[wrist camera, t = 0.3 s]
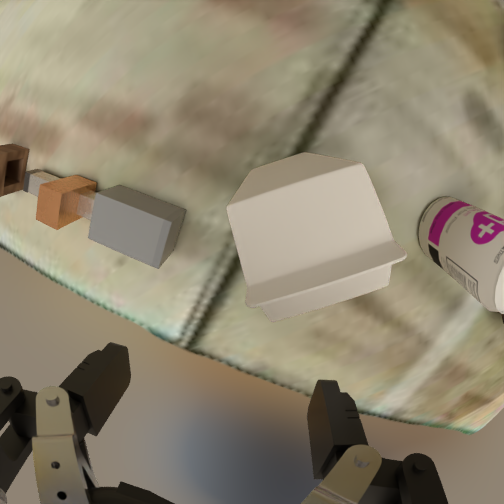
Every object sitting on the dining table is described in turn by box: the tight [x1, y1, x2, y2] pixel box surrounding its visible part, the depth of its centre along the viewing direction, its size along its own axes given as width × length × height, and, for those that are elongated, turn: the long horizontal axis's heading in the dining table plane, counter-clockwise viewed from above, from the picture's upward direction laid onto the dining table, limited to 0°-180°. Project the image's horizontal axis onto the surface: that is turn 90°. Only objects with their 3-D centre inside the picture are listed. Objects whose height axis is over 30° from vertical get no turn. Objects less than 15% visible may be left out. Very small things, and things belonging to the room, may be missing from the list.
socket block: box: [0, 144, 29, 197], centre depth 27 cm, size 6×4×6 cm
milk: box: [226, 152, 407, 322], centre depth 19 cm, size 6×6×22 cm
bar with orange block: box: [23, 169, 97, 230], centre depth 27 cm, size 4×20×7 cm, turn 68°
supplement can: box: [418, 197, 504, 314], centre depth 23 cm, size 8×8×15 cm
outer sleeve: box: [88, 185, 186, 269], centre depth 29 cm, size 5×9×5 cm, turn 68°
